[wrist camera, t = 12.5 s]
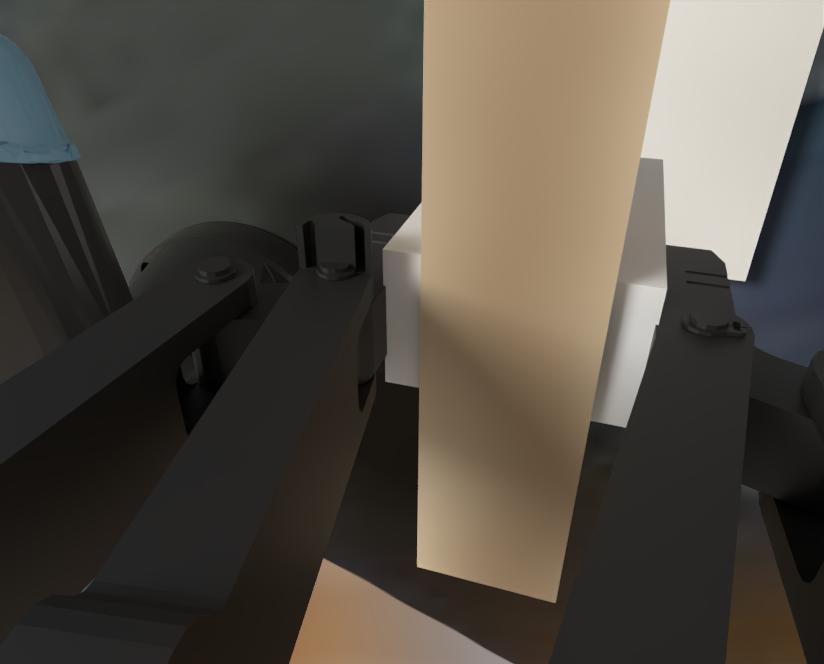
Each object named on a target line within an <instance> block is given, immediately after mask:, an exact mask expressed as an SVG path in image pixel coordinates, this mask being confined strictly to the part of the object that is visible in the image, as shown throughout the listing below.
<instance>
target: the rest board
mask: <svg viewBox="0 0 824 664" xmlns="http://www.w3.org/2000/svg"><path fill="white" fill-rule="evenodd" d="M823 28H824V0H670V5H669V10H668V15H667V20H666V26H665V31H664V36H663V41H662V47H661V52H660V57H659V63H658V68H657V73H656V78H655V83H654V89H653V94H652V99H651V105H650V110H649V115H648V120H647V126H646V131H645V136H644V141H643V147H642V152H641V158H652V159H663V172H664V204H665V235H666V245H672V246H680V247H688V248H696V249H704V250H712V251H713V252H714V253H715V254H716V255H717V256H718V257H719V258H720V259H721V260H722V261H723V262H724V263H725V265H726V270H727V275H728V277H727V278H728V279H730V280H738V281H746V278H747V274H748V271H749V268H750V265H751V261H752V258H753V255H754V252H755V248H756V245H757V242H758V239H759V235H760V232H761V229H762V226H763V222H764V219H765V216H766V213H767V210H768V206H769V203H770V200H771V197H772V193H773V190H774V187H775V184H776V180H777V177H778V174H779V171H780V167H781V164H782V161H783V158H784V154H785V151H786V148H787V145H788V141H789V138H790V135H791V132H792V128H793V125H794V122H795V119H796V115H797V112H798V109H799V106H800V102H801V99H802V96H803V93H804V89H805V86H806V83H807V80H808V76H809V73H810V70H811V67H812V64H813V60H814V57H815V54H816V51H817V47H818V44H819V41H820V38H821V34H822V31H823Z"/></svg>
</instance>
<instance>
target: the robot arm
mask: <svg viewBox="0 0 824 664" xmlns="http://www.w3.org/2000/svg"><path fill="white" fill-rule="evenodd" d="M80 157H81V156H80V153H79V151H78V148H77V146H76V145H75V144H74V143H73V142H72V141H70V140H69V139H68V138H67V136H66V134H65V132H64V130H63V128H62V126H61V123H60V121H59V119H58V117H57V115H56V113H55V111H54V108H53V106H52V104H51V102H50V100H49V98H48V96H47V93H46V91H45V89H44V87H43V85H42V83H41V81H40V78H39V76H38V74H37V72H36V70H35V68H34V66H33V65H32V63H31V61H30V60H29V58H28V57H27V56H26V55H25V53H24V52H23V51H22V50H21V49H20V48H19V47H18V46H17V45H16V44H14V43H13V42H12V41H11V40H9V39H8V38H6V37H5V36H3V35H2V34H0V664H289V662H290V659H291V655H292V653H293V649H294V646H295V643H296V640H297V637H298V634H299V631H300V628H301V625H302V622H303V619H304V615H305V612H306V610H307V606H308V603H309V600H310V597H311V594H312V591H313V588H314V585H315V582H316V579H317V576H318V572H319V569H320V566H321V563H322V560H323V557H324V554H325V551H326V548H327V545H328V542H329V539H330V536H331V532H332V529H333V526H334V523H335V520H336V517H337V514H338V511H339V508H340V505H341V502H342V499H343V495H344V492H345V489H346V486H347V483H348V480H349V477H350V474H351V471H352V468H353V465H354V462H355V458H356V455H357V452H358V449H359V446H360V443H361V440H362V437H363V434H364V431H365V428H366V424H367V421H368V418H369V415H370V412H371V409H372V406H373V403H374V400H375V397H376V371H377V370H378V368H379V366H380V365H381V363H382V361H383V360H384V358H385V382H390V383H396V384H401V385H406V386H411V387H417V388H419V373H420V294H421V216H422V202H421V204H420V205H419V206H418V207H417V208H416V210H415V211H414V212H413V213H412V214H411V215H403V214H395V213H389V214H386V215H384V216H382V217H380V218H377V219H375V220H373V221H372V222H371V223H370V222H369V221H368V220H367V219H366V218H363V217H360V216H358V215H354V214H348V213H324V214H318V215H313V216H310V217H308V218H305V219H302V220H301V221H300V222H298V223H297V224H296V225H295V226H296V237H297V247H298V250H297V249H295V248H294V247H292V246H291V245H289V244H288V243H286V242H285V241H283V240H281V239H280V238H278V237H276V236H274V235H272V234H270V233H268V232H265V231H263V230H260V229H258V228H254V227H251V226H248V225H244V224H239V223H233V222H218V221H217V222H206V223H200V224H196V225H193V226H190V227H187V228H185V229H183V230H181V231H180V232H178V233H176V234H175V235H173V236H172V237H170V238H169V239H167V240H166V241H164V242H163V243H161V244H160V245H158V246H157V247H156V248H154V249H153V250H152V251H151V252H150V253H149V254H148V255H147V256H146V257H145V258H144V259H143V260H142V262H141V263H140V265H139V266H138V268H137V269H136V271H135V273H134V275H133V277H132V279H131V282H130V285H129V288H128V285H127V283H126V280H125V278H124V276H123V273H122V271H121V268H120V266H119V263H118V261H117V258H116V256H115V253H114V251H113V249H112V246H111V244H110V241H109V239H108V236H107V234H106V231H105V229H104V226H103V224H102V222H101V219H100V217H99V214H98V212H97V209H96V207H95V204H94V202H93V199H92V197H91V195H90V192H89V190H88V187H87V185H86V182H85V180H84V177H83V175H82V172H81V170H80V168H79V165H78V163H77V159H79V158H80ZM727 277H728V275H727V270H726V265H725V263H724V262H723V261H722V260H721V259H720V258H719V257H718V256H717V255H716V254H715V253H714V252H713V251H712V250H704V249H696V248H688V247H680V246H672V245H666V235H665V204H664V172H663V159H652V158H641V157H640V162H639V168H638V173H637V178H636V183H635V189H634V194H633V199H632V204H631V210H630V215H629V220H628V225H627V231H626V236H625V241H624V246H623V252H622V257H621V262H620V267H619V273H618V278H617V283H616V288H615V294H614V299H613V304H612V309H611V315H610V320H609V325H608V330H607V336H606V341H605V346H604V351H603V357H602V362H601V367H600V372H599V378H598V383H597V388H596V393H595V399H594V404H593V409H592V414H591V420H590V421H594V422H600V423H605V424H610V425H615V426H620V427H626V429H625V432H624V435H623V438H622V441H621V444H620V447H619V450H618V453H617V457H616V460H615V463H614V466H613V469H612V472H611V475H610V478H609V481H608V484H607V487H606V490H605V493H604V496H603V499H602V502H601V505H600V508H599V511H598V515H597V518H596V521H595V524H594V527H593V530H592V533H591V536H590V539H589V542H588V545H587V548H586V551H585V554H584V557H583V560H582V563H581V566H580V569H579V573H578V576H577V579H576V582H575V585H574V588H573V591H572V594H571V597H570V600H569V603H568V606H567V609H566V612H565V615H564V618H563V621H562V624H561V627H560V631H559V634H558V637H557V640H556V643H555V646H554V649H553V652H552V655H551V658H550V661H549V664H725V661H726V650H727V638H728V627H729V616H730V605H731V594H732V583H733V572H734V561H735V549H736V538H737V527H738V516H739V505H740V494H741V484H743V485H745V486H748V487H750V488H752V489H755V490H757V491H759V505H760V509H761V512H762V515H763V519H764V522H765V525H766V529H767V532H768V535H769V538H770V542H771V545H772V548H773V552H774V555H775V558H776V562H777V565H778V568H779V572H780V575H781V578H782V581H783V585H784V588H785V591H786V595H787V598H788V601H789V605H790V608H791V611H792V615H793V618H794V621H795V624H796V628H797V631H798V634H799V638H800V641H801V644H802V648H803V651H804V654H805V658H806V661H807V664H824V350H822V351H819V352H818V353H817V354H816V355H815V356H814V357H813V358H812V360H811V362H810V365H809V367H804V366H801V365H798V364H795V363H792V362H789V361H786V360H783V359H780V358H778V357H775V356H772V355H770V354H768V353H766V352H764V351H762V350H760V349H758V348H756V347H755V346H754V338H755V336H754V333H753V330H752V327H751V326H750V325H749V324H748V323H746V322H745V321H744V320H743V319H742V318H740V317H738V316H736V314H735V310H734V305H733V300H732V295H731V290H730V289H729V288H730V285H729V280H728V278H727Z"/></svg>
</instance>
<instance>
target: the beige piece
mask: <svg viewBox="0 0 824 664" xmlns="http://www.w3.org/2000/svg"><path fill="white" fill-rule="evenodd" d="M669 5H670V0H424V58H423V137H422V216H421V294H420V373H419V452H418V531H417V567H420V568H424V569H427V570H431V571H435V572H439V573H443V574H446V575H450V576H454V577H458V578H462V579H465V580H469V581H473V582H477V583H481V584H484V585H488V586H492V587H496V588H500V589H504V590H507V591H511V592H515V593H519V594H523V595H526V596H530V597H534V598H538V599H542V600H545V601H549V602H553V603H556V598H557V593H558V588H559V582H560V577H561V572H562V567H563V561H564V556H565V551H566V546H567V540H568V535H569V530H570V525H571V519H572V514H573V509H574V504H575V498H576V493H577V488H578V483H579V477H580V472H581V467H582V462H583V456H584V451H585V446H586V441H587V435H588V430H589V425H590V420H591V414H592V409H593V404H594V399H595V393H596V388H597V383H598V378H599V372H600V367H601V362H602V357H603V351H604V346H605V341H606V336H607V330H608V325H609V320H610V315H611V309H612V304H613V299H614V294H615V288H616V283H617V278H618V273H619V267H620V262H621V257H622V252H623V246H624V241H625V236H626V231H627V225H628V220H629V215H630V210H631V204H632V199H633V194H634V189H635V183H636V178H637V173H638V168H639V162H640V157H641V152H642V147H643V141H644V136H645V131H646V126H647V120H648V115H649V110H650V105H651V99H652V94H653V89H654V83H655V78H656V73H657V68H658V63H659V57H660V52H661V47H662V41H663V36H664V31H665V26H666V20H667V15H668V10H669Z"/></svg>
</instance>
